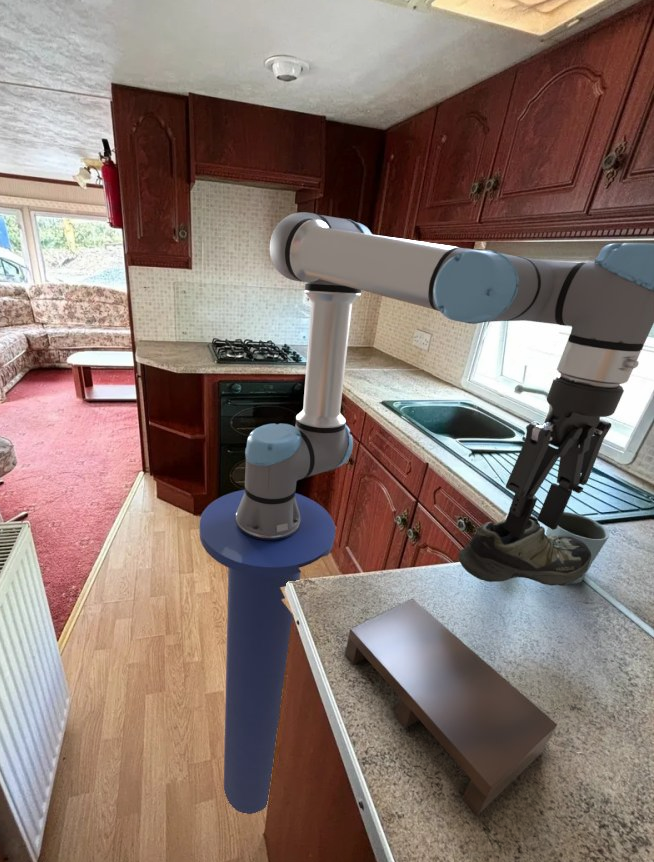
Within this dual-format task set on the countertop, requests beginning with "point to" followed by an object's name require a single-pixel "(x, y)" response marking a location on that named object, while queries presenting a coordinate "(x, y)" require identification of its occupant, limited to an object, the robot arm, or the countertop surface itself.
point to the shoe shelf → (453, 698)
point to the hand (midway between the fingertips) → (529, 527)
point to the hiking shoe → (524, 555)
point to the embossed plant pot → (581, 534)
